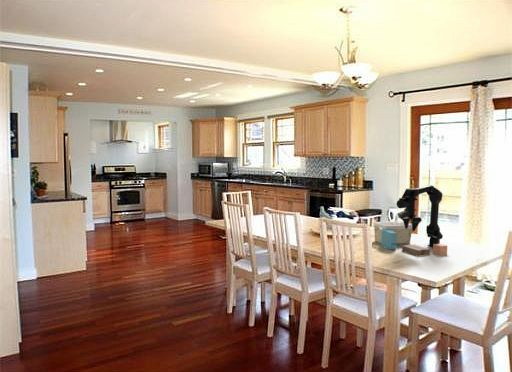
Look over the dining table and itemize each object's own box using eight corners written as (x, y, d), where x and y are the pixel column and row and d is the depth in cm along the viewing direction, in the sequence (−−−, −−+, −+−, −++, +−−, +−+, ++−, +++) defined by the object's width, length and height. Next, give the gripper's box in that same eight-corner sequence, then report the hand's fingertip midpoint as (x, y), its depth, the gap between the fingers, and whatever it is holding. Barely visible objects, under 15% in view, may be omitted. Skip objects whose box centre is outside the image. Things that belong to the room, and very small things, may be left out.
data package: (396, 249, 274) (397, 232, 273) (390, 250, 273) (391, 233, 272) (386, 246, 286) (387, 229, 285) (381, 246, 285) (381, 229, 284)
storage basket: (399, 239, 309) (400, 220, 307) (413, 244, 293) (414, 224, 292) (372, 241, 302) (372, 221, 301) (384, 246, 287) (385, 225, 285)
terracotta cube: (439, 252, 268) (440, 243, 268) (447, 254, 263) (447, 245, 262) (432, 253, 266) (433, 244, 266) (440, 255, 261) (440, 246, 260)
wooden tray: (413, 250, 275) (413, 244, 275) (429, 255, 262) (429, 249, 262) (402, 251, 272) (402, 245, 271) (417, 256, 259) (417, 250, 258)
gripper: (392, 205, 278) (392, 227, 280) (406, 209, 260) (405, 233, 261) (407, 205, 280) (406, 227, 281) (422, 209, 262) (421, 232, 263)
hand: (409, 230), depth 272 cm, fingers open, 9 cm apart
